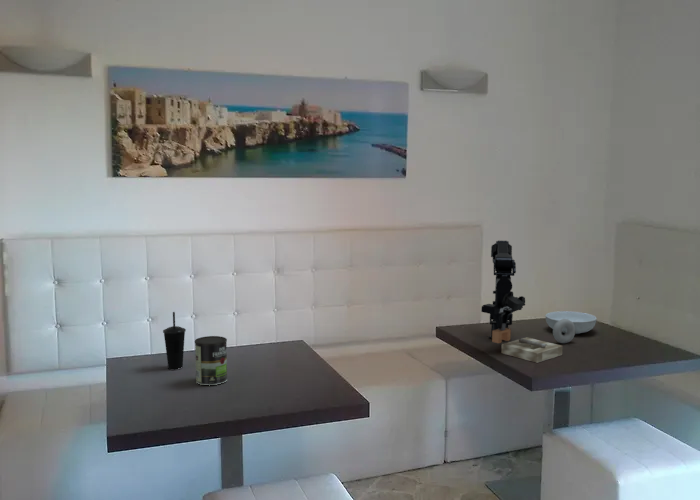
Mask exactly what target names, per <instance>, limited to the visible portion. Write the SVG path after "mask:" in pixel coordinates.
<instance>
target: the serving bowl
mask: <svg viewBox="0 0 700 500" xmlns="http://www.w3.org/2000/svg"><path fill="white" fill-rule="evenodd" d="M544 316H545V322H546V324H547V326H548V327H550V328H551V329H552V330H553V328H554V325H555V324H556V323H557V322H558V321H559V320H561V319H568V320H570V321H572V322H573V324H574V326H575V330H576V331H575V335H579V334H584V333H587V332H589V331H591V330H593V329H594V328H595V326H596V324H597V320H598V319H597V317H596V315H594V314H591V313H585V312H581V311H570V310H568V311H566V310H565V311H564V310H559V311H551V312H548V313H546V314H545V315H544ZM566 332H567V328H566V327H564V328H563V329H562V332H561V333H562V334H566Z"/></svg>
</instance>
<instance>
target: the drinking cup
mask: <svg viewBox="0 0 700 500" xmlns="http://www.w3.org/2000/svg"><path fill="white" fill-rule="evenodd" d="M186 330H187V329H186V328H184V327H183V326H182V327H181V326H178V325H176V312H175V311H173V312H172V326H169V327H166V328H164V329H163V330H162V333H163V337H164V346H165V350H166V351H165V353H166V360H167V361H166V362H167V367H168V368H170V369H178V368H181V367H182V368H183V364H184V353H185V352H184V350H185V348H184V347H185V334H186ZM170 369H169V370H170Z"/></svg>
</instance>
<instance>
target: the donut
mask: <svg viewBox="0 0 700 500" xmlns="http://www.w3.org/2000/svg"><path fill="white" fill-rule="evenodd" d="M564 327H566V328H567V332H566V333H564V334H563V333H562V329H563V328H564ZM575 331H576V330H575V326H574V324H573V322H572V321H570V320H568V319H561V320H559V321H558V322H557V323H556V324H555V325H554V328H553V329H552V335H553V337H554V340H556V342H558V343H560V344H569V342H571V341H572V340H573V339H574V338H575V335H576V334H575Z"/></svg>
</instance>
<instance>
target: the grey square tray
mask: <svg viewBox="0 0 700 500" xmlns="http://www.w3.org/2000/svg"><path fill="white" fill-rule="evenodd" d="M563 348H564V347H563V345H560V344H556V343H553V342H548V341H544V340H539V339H535V338H532V337H527V336H526V337H522V338H518V339H515V340H512V341H507V342H505V343H501V353H500V354H503V355H506V356H507V355H508V356H511V357H514V358H519V359H521V360H525V361H529V362H533V363H537V364H538V363H541V362H544V361H547V360H550V359H555V358H557V357H559V356H563Z"/></svg>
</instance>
